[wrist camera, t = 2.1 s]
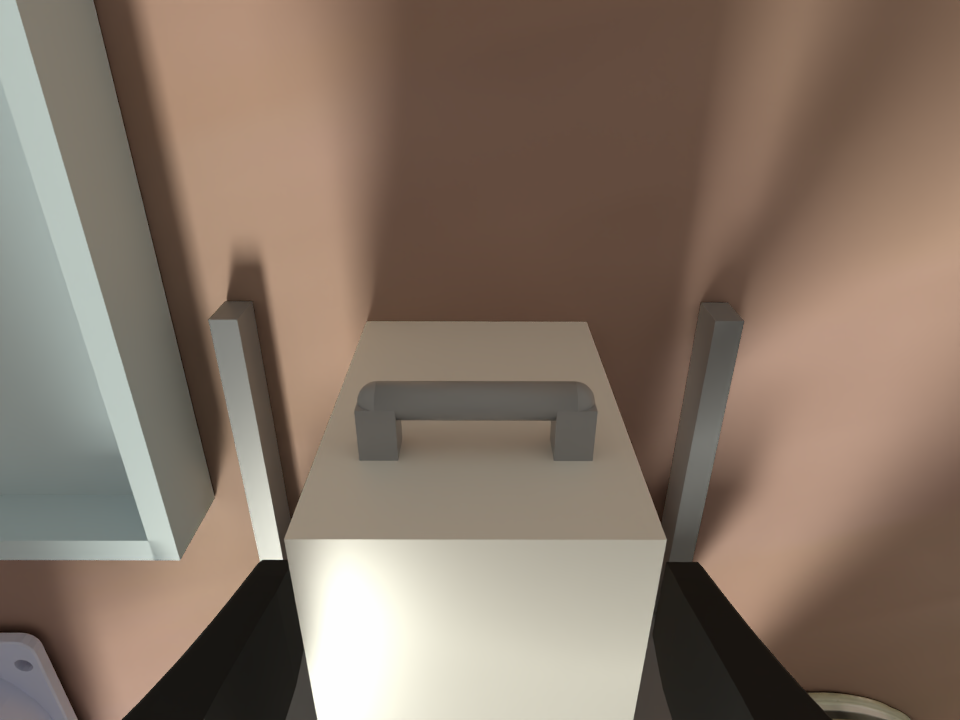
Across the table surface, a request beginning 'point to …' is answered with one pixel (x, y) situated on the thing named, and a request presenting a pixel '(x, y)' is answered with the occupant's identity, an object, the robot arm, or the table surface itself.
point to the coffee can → (855, 707)
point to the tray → (83, 315)
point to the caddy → (475, 531)
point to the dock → (683, 497)
